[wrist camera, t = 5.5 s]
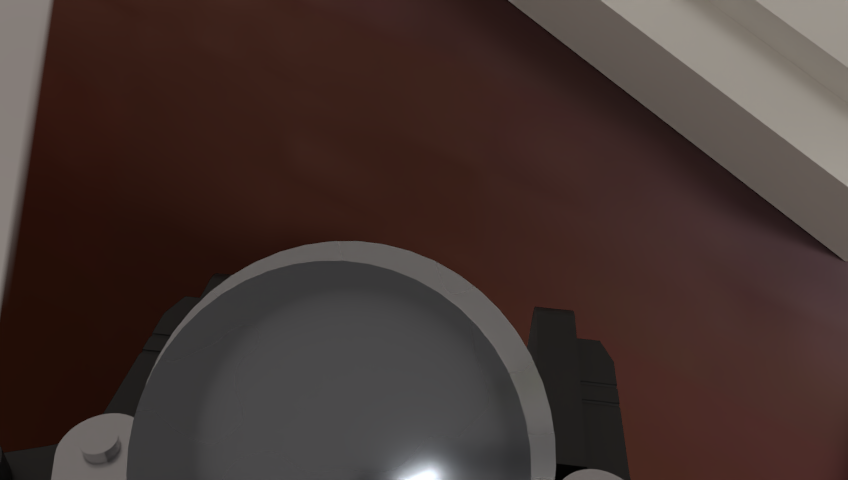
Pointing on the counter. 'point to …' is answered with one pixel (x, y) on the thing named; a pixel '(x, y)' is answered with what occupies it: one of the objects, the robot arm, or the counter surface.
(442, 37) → the counter surface
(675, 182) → the counter surface
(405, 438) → the knob
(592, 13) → the stand
